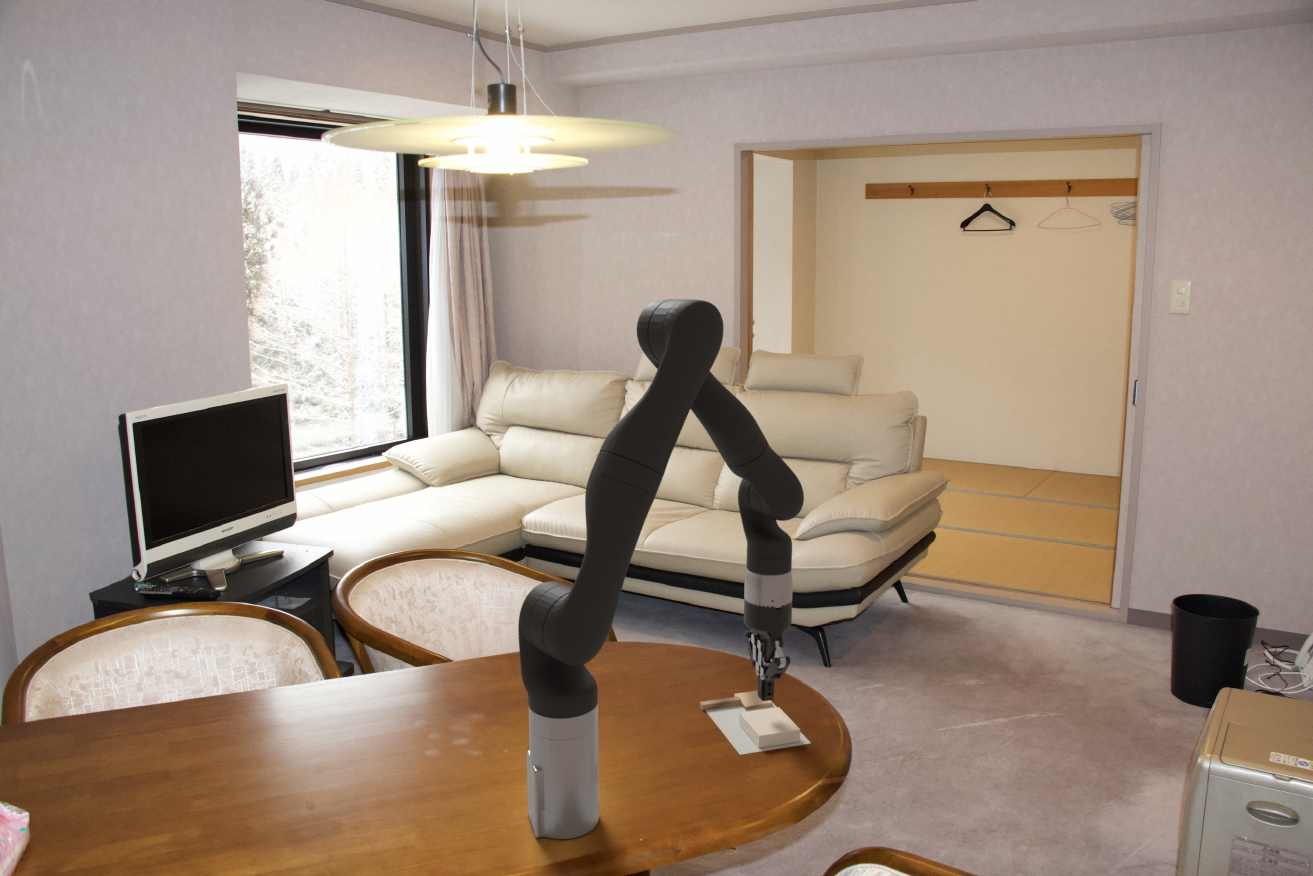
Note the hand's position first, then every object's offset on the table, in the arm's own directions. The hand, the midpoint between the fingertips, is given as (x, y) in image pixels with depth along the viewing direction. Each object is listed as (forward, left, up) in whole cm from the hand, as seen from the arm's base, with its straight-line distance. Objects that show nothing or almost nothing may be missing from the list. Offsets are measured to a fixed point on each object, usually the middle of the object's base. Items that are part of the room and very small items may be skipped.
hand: (765, 698), depth 155 cm
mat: (-1, +3, -6) cm, 6 cm away
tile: (0, +2, -4) cm, 5 cm away
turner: (-1, +10, -5) cm, 11 cm away
